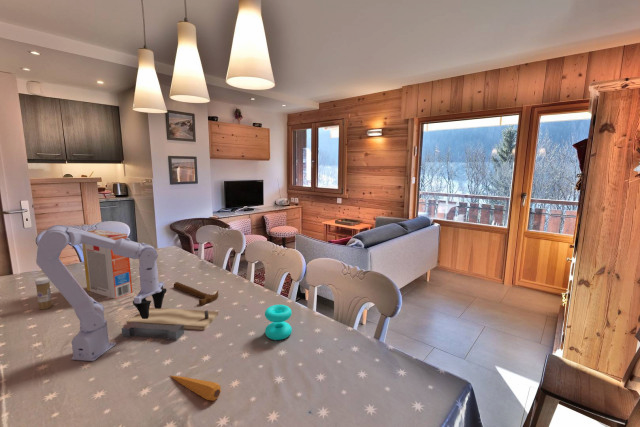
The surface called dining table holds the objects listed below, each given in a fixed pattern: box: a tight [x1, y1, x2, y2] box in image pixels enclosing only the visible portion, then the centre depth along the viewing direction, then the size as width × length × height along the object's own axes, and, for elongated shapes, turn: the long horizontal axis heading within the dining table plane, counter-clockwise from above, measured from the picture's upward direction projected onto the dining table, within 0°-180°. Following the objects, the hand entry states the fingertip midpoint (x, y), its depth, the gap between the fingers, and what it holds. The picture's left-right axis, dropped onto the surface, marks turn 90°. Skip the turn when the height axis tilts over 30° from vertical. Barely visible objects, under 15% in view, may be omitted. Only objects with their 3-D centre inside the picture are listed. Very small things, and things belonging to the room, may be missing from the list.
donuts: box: [264, 304, 293, 341], centre depth 110 cm, size 10×10×10 cm
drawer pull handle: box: [121, 321, 185, 342], centre depth 109 cm, size 5×21×4 cm, turn 84°
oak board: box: [126, 306, 219, 331], centre depth 120 cm, size 12×32×4 cm, turn 84°
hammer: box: [173, 281, 219, 307], centre depth 146 cm, size 12×3×30 cm
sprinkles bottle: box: [34, 276, 53, 310], centre depth 129 cm, size 5×5×14 cm
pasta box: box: [81, 229, 133, 300], centre depth 145 cm, size 23×8×30 cm, turn 65°
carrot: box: [170, 375, 222, 402], centre depth 83 cm, size 20×4×4 cm, turn 62°
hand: (151, 313), depth 109 cm, fingers open, 7 cm apart
